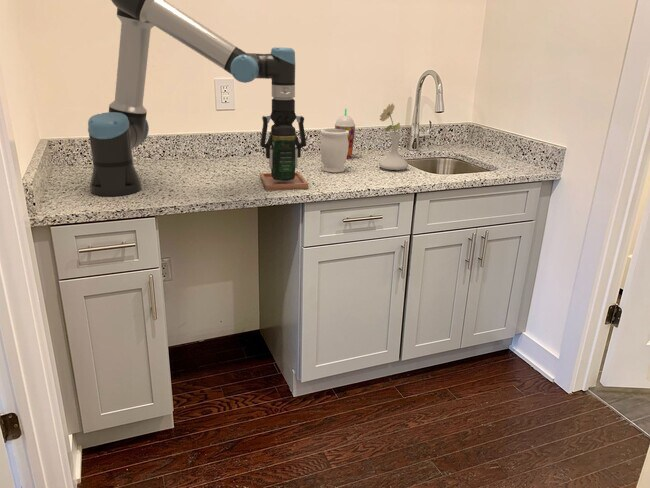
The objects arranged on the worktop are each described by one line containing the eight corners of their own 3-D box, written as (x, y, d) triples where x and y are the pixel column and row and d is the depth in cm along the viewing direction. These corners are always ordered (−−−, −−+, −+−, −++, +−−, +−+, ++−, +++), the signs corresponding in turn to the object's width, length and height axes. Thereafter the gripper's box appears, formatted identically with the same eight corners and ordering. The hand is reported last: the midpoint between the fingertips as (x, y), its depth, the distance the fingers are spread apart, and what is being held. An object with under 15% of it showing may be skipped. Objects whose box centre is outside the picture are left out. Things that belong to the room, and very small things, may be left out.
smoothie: (332, 155, 227) (334, 107, 220) (352, 155, 228) (354, 107, 221) (335, 159, 219) (336, 110, 212) (355, 159, 220) (357, 110, 213)
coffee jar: (297, 181, 179) (297, 125, 172) (273, 182, 177) (273, 125, 170) (291, 174, 188) (292, 120, 181) (269, 175, 186) (269, 120, 179)
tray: (266, 190, 174) (266, 185, 174) (260, 178, 189) (259, 173, 188) (308, 189, 177) (308, 183, 177) (298, 176, 192) (298, 172, 191)
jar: (314, 169, 202) (314, 130, 197) (332, 165, 209) (333, 127, 204) (334, 175, 196) (336, 134, 190) (352, 170, 203) (354, 131, 197)
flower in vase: (394, 164, 215) (399, 100, 206) (413, 170, 206) (419, 104, 197) (369, 167, 208) (372, 101, 199) (387, 174, 199) (392, 105, 190)
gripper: (252, 99, 167) (254, 171, 175) (317, 99, 172) (315, 169, 180) (249, 96, 174) (251, 165, 182) (311, 97, 178) (310, 164, 187)
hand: (283, 167), depth 181 cm, fingers closed on coffee jar, 8 cm apart
